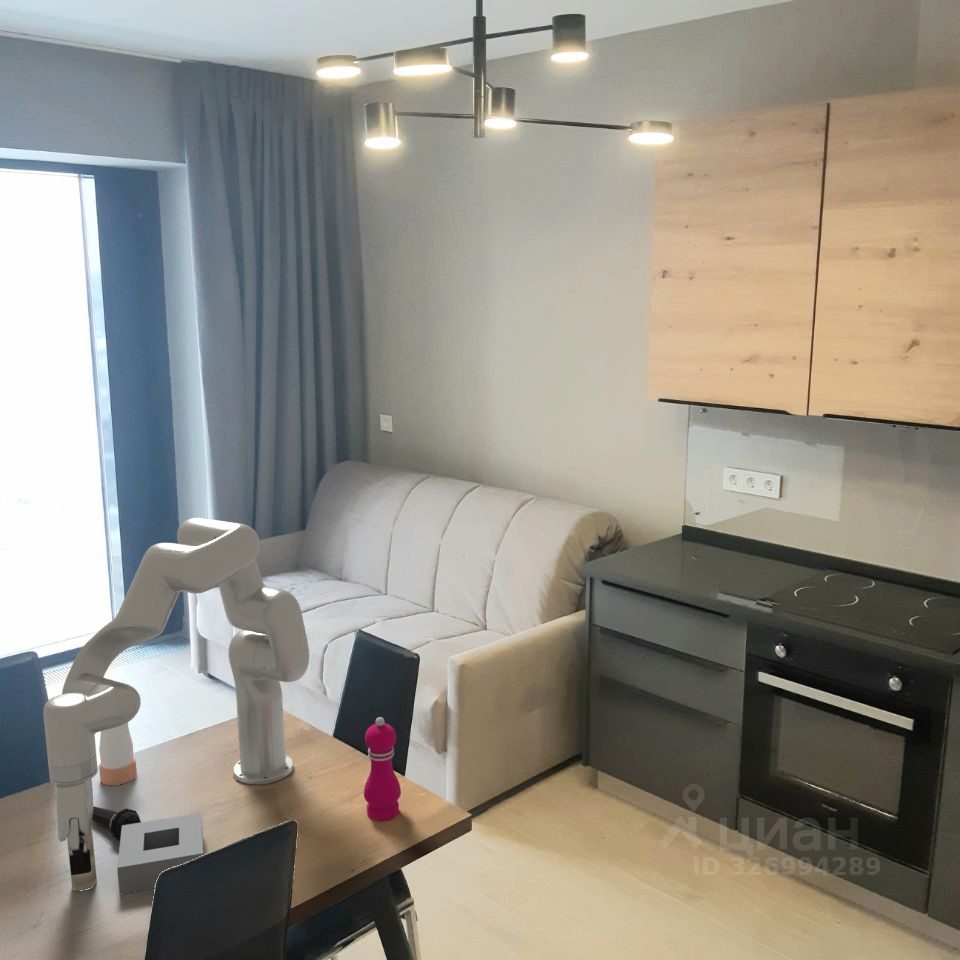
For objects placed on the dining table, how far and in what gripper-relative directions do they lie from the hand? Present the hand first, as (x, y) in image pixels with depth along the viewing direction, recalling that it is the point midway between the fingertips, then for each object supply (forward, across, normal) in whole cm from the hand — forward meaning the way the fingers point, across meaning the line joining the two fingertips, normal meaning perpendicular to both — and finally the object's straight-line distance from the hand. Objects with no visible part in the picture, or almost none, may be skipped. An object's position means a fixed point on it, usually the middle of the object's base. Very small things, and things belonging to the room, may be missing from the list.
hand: (82, 864), depth 165 cm
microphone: (+4, -20, +3) cm, 21 cm away
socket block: (+4, -2, +13) cm, 14 cm away
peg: (+4, 0, 0) cm, 4 cm away
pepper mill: (+4, -7, +54) cm, 55 cm away
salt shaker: (+4, -39, +3) cm, 39 cm away
